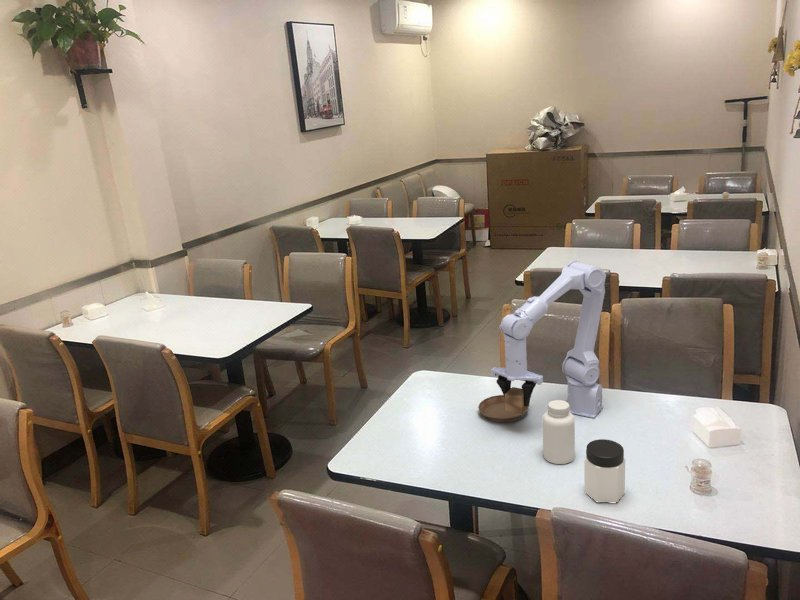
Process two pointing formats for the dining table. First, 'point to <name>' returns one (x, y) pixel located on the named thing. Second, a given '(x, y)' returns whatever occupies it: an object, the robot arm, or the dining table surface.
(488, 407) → the saucer
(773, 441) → the dining table surface
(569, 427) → the pill bottle
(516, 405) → the cube
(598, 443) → the jar
